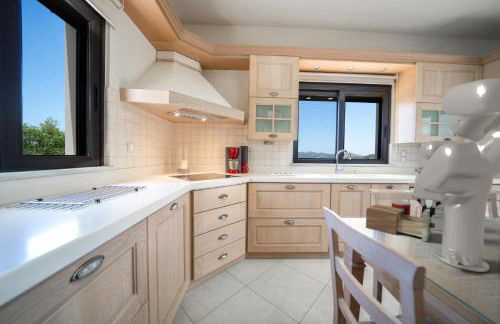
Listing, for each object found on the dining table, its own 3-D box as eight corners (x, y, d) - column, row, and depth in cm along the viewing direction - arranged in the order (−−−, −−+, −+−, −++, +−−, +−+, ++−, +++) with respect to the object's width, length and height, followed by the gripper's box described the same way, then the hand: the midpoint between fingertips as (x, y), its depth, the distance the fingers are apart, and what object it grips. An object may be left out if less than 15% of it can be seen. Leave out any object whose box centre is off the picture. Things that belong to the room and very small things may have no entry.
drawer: (431, 242, 85) (433, 213, 84) (391, 232, 95) (392, 206, 94) (436, 234, 94) (437, 207, 94) (399, 225, 104) (400, 202, 104)
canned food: (403, 221, 112) (404, 200, 112) (413, 226, 104) (414, 204, 104) (387, 220, 113) (388, 200, 112) (396, 226, 105) (397, 203, 105)
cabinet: (395, 234, 93) (396, 214, 93) (365, 227, 102) (366, 208, 102) (403, 227, 103) (404, 208, 103) (375, 221, 112) (376, 204, 111)
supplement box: (454, 231, 98) (456, 195, 98) (430, 230, 100) (432, 194, 100) (440, 225, 108) (442, 191, 107) (419, 223, 110) (421, 190, 109)
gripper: (405, 171, 93) (403, 213, 94) (455, 174, 82) (452, 222, 83) (409, 170, 98) (407, 210, 99) (456, 173, 87) (454, 218, 88)
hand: (428, 215), depth 91 cm, fingers closed
